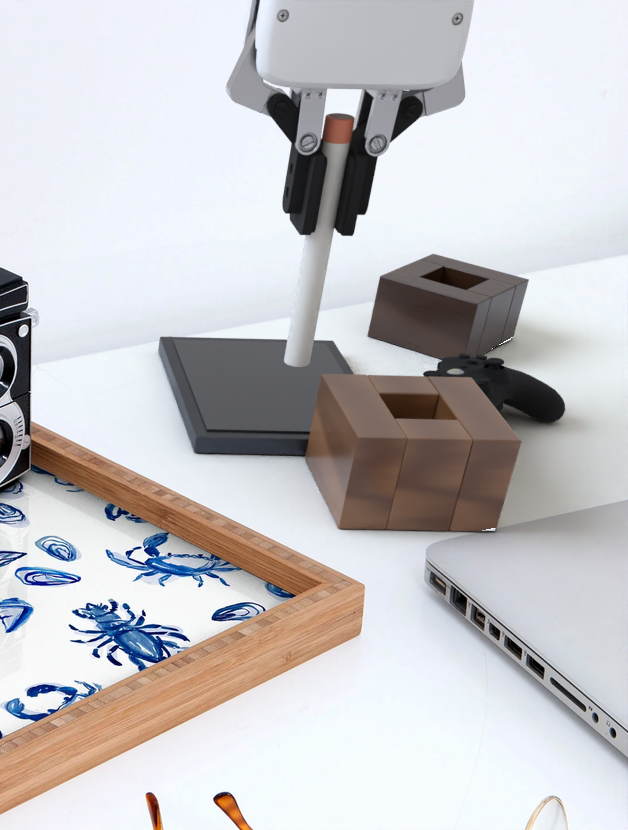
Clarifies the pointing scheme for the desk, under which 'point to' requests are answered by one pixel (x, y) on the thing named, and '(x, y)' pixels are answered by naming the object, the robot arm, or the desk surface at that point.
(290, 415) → the tablet
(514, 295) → the back stand
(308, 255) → the stylus
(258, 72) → the robot arm
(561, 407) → the game controller
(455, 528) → the front stand
